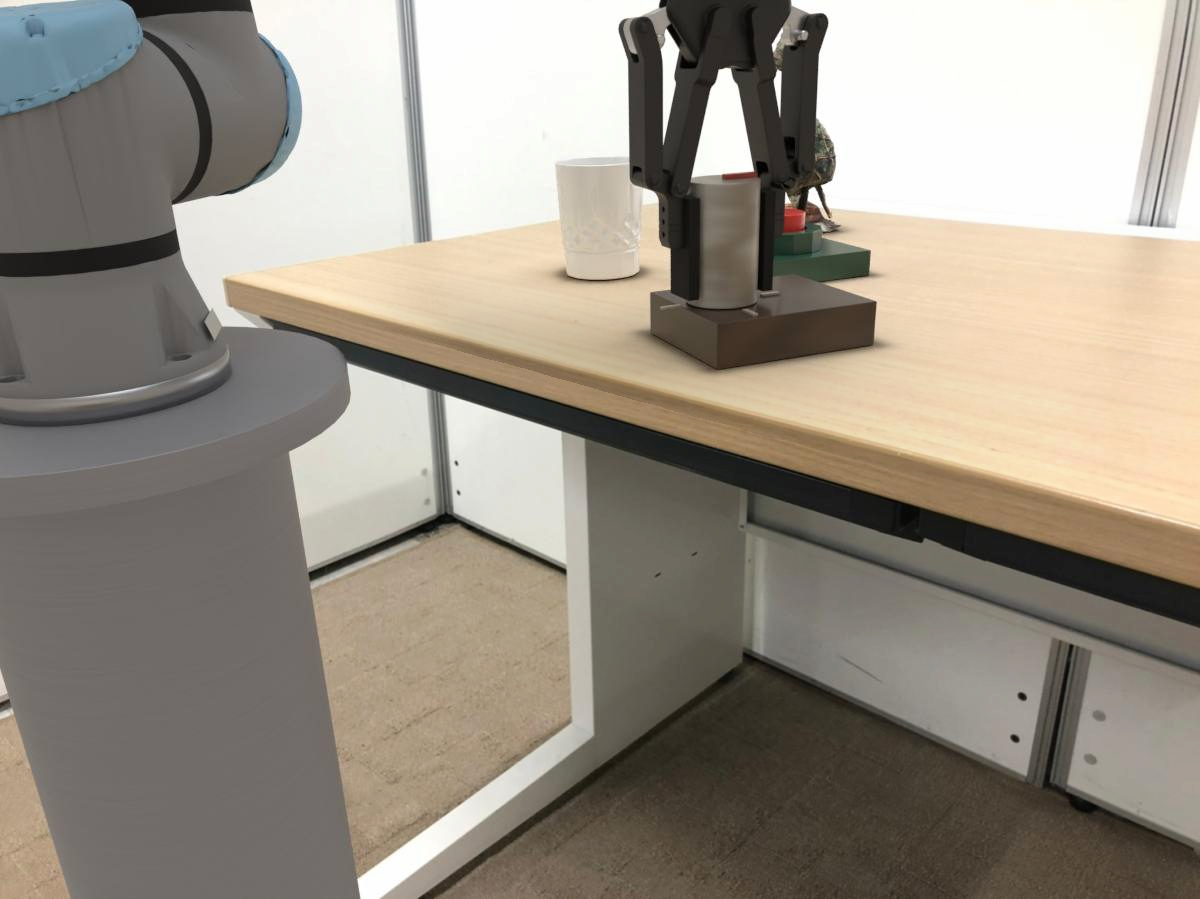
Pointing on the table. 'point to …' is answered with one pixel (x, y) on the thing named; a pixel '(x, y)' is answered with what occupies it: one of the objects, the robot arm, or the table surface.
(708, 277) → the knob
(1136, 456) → the table surface
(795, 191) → the stone bird figurine
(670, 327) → the panel
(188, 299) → the robot arm
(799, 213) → the button
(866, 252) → the switchbox
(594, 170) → the white cup
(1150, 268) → the table surface
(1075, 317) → the table surface
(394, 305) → the table surface
